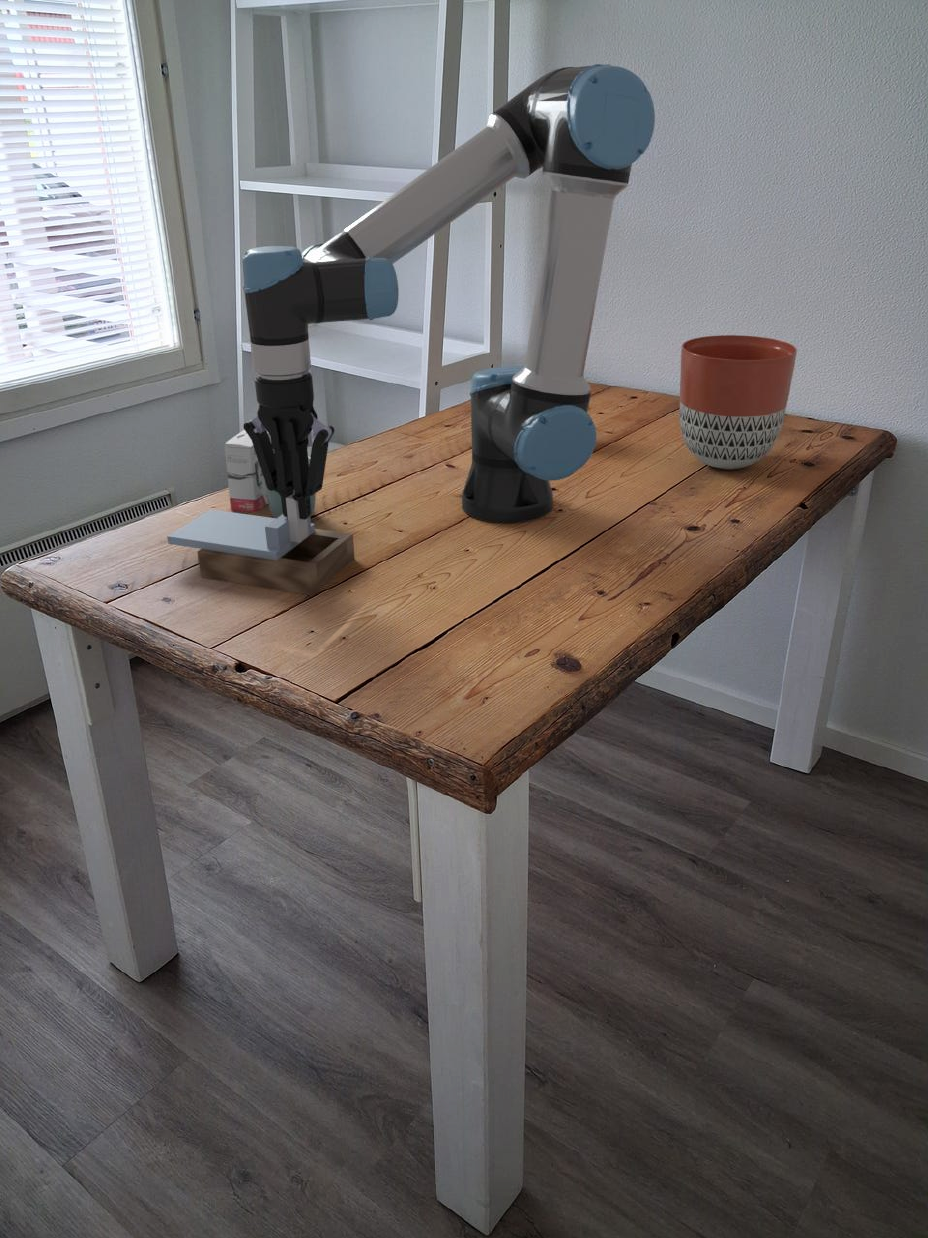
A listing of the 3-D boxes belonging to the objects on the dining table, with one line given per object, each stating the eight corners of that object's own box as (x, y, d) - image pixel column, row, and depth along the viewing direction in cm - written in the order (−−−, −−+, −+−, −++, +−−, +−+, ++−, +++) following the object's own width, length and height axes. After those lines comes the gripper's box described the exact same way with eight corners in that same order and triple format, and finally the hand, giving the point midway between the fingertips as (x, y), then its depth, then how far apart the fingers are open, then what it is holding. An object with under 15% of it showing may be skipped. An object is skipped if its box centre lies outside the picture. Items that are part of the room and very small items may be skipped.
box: (354, 561, 149) (352, 533, 147) (311, 598, 138) (308, 569, 136) (250, 545, 155) (247, 518, 153) (201, 580, 144) (197, 551, 142)
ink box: (259, 514, 166) (250, 445, 161) (230, 513, 167) (221, 444, 162) (277, 496, 174) (270, 429, 168) (250, 494, 175) (242, 428, 169)
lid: (315, 531, 148) (312, 503, 146) (276, 560, 139) (273, 531, 137) (211, 516, 154) (207, 489, 152) (168, 543, 145) (163, 515, 143)
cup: (326, 514, 166) (321, 456, 161) (304, 531, 159) (298, 471, 155) (284, 509, 168) (278, 452, 164) (261, 526, 162) (254, 467, 157)
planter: (661, 475, 180) (671, 355, 170) (683, 443, 195) (693, 332, 185) (773, 488, 173) (790, 364, 163) (786, 454, 189) (802, 338, 179)
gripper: (340, 369, 132) (352, 534, 143) (255, 362, 137) (273, 523, 147) (312, 383, 126) (327, 554, 137) (224, 375, 130) (245, 542, 141)
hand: (299, 538), depth 142 cm, fingers closed
